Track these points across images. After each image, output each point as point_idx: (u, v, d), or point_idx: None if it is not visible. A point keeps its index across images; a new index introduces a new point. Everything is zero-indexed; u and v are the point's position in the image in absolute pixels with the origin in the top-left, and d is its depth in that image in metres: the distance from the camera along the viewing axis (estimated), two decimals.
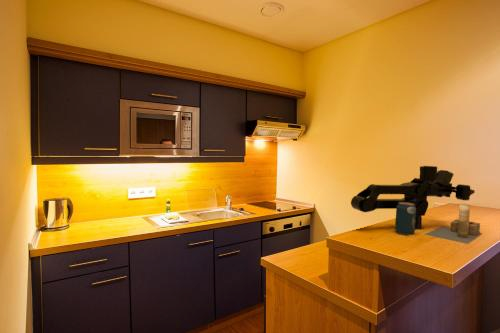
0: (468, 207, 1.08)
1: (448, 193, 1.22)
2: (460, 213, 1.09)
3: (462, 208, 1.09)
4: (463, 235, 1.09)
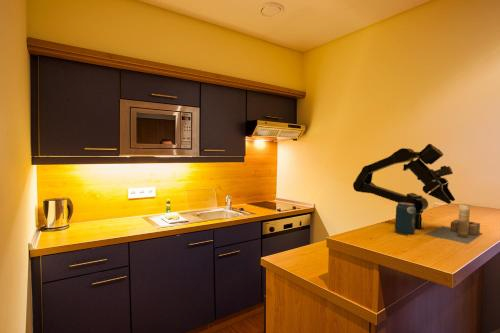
0: (468, 207, 1.08)
1: (427, 183, 1.16)
2: (460, 213, 1.09)
3: (462, 208, 1.09)
4: (463, 235, 1.09)
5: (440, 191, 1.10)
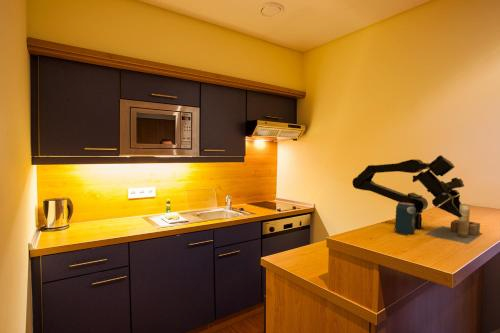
0: (468, 207, 1.08)
1: (437, 195, 1.14)
2: None
3: (462, 208, 1.09)
4: (463, 235, 1.09)
5: (450, 204, 1.07)
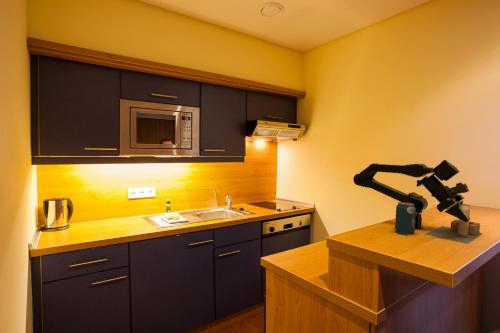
0: (468, 207, 1.08)
1: (442, 200, 1.12)
2: None
3: (462, 208, 1.09)
4: (463, 235, 1.09)
5: (457, 209, 1.08)
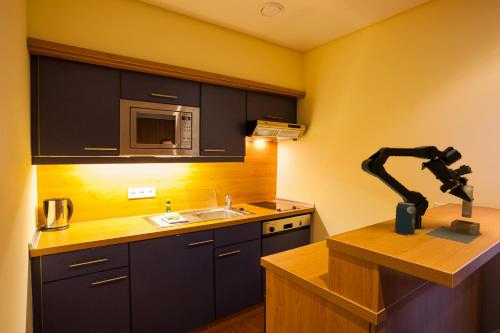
0: (471, 188, 1.12)
1: None
2: None
3: (466, 189, 1.13)
4: (466, 215, 1.13)
5: (460, 190, 1.13)
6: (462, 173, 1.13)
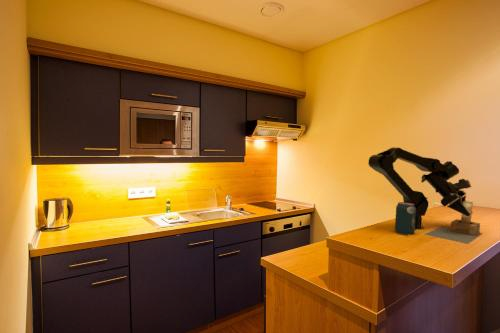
0: (471, 204, 1.15)
1: (445, 196, 1.19)
2: None
3: (465, 205, 1.15)
4: None
5: (459, 204, 1.14)
6: (462, 187, 1.15)
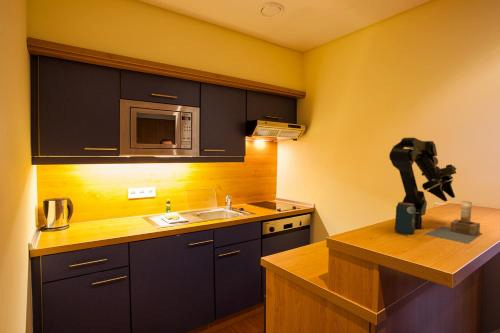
0: (470, 204, 1.15)
1: (429, 179, 1.25)
2: (462, 210, 1.16)
3: (464, 205, 1.16)
4: None
5: (438, 189, 1.19)
6: (446, 173, 1.20)
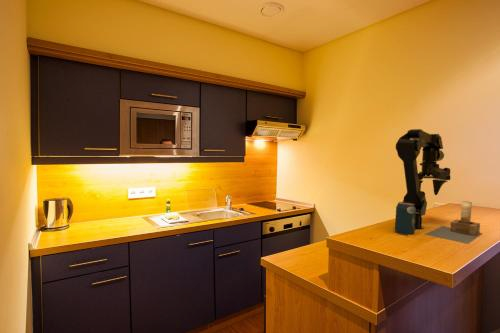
0: (470, 204, 1.15)
1: (421, 171, 1.33)
2: (462, 210, 1.16)
3: (464, 205, 1.16)
4: None
5: None
6: (433, 175, 1.26)
